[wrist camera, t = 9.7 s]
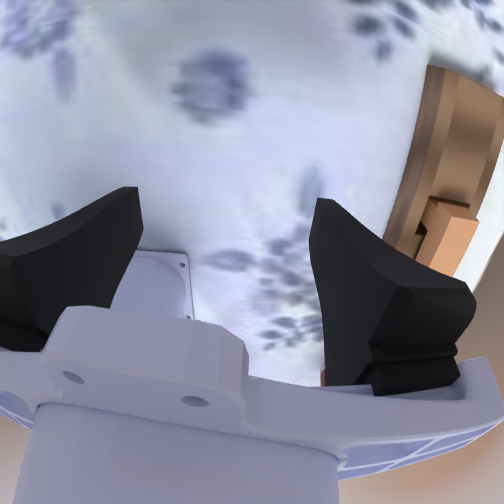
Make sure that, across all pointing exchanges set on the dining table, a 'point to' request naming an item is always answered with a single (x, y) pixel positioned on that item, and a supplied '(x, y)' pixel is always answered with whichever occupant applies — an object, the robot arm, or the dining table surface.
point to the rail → (447, 153)
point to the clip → (445, 234)
